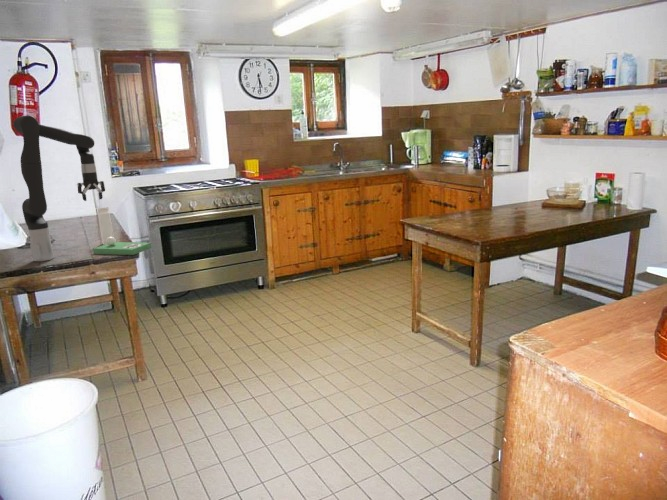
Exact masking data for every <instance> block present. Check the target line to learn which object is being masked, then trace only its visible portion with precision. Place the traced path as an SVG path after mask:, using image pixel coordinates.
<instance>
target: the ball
mask: <svg viewBox="0 0 667 500" xmlns="http://www.w3.org/2000/svg"><path fill="white" fill-rule="evenodd" d="M106 242H107V244H108V245H110V246H112V245H114V244H115V243H116V242H117V239H116V238H115V237H108V238H107V240H106Z"/></svg>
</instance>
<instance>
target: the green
mask: <svg viewBox="0 0 667 500" xmlns="http://www.w3.org/2000/svg"><path fill="white" fill-rule="evenodd" d="M149 249H152V243H151V242H134V241H133V242H131V241H130V242H124V241H122V242H121V241H116V243H115V244H114V245H112V246H110V245H108V244H105V245H104V244H102V245H100V246H97V247H94V248H92V252H93V254H94V255H118V256H119V255H120V256H121V255H122V256H124V255H126V256H127V255H128V256H134V255H137V254H139V253H142V252H145V251H146V250H149Z"/></svg>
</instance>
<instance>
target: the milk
mask: <svg viewBox="0 0 667 500" xmlns="http://www.w3.org/2000/svg"><path fill="white" fill-rule="evenodd" d="M97 219H98V224H99V225H98V226H99V230H100V237H101V242H102V245H105V244H107V242H106V240H107V238H108V237H114V230H113V224H112V217H111V212H110V210H109V207H99V208H97ZM114 238H115V237H114Z"/></svg>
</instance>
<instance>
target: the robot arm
mask: <svg viewBox="0 0 667 500" xmlns="http://www.w3.org/2000/svg"><path fill="white" fill-rule="evenodd" d="M12 124H13V128H14V129H15V131H16V132H18V133H19V134H22V138H23V145H22V146H23V147H22V151H21V155H20V169H21V174H22V177H23V180H24V182H25V184H26V186H27V189H28V197H29V198H27V199H25V200H24V201H23V202H22V203H21V204H22V206H21V208H22V214H23V215H22V216H23V217H24V222H25V224H26V226H27V228H28V234H29V239H30V243H29V249H30V253H31V258H32V261H33V262H46V261H51V260H54V259H55V255H54V250H53V246H52V240H51V239H52V238H51V233H50V228H49V224H48V222H47V221H46V219H45V218H44V215H45V214H46V212H47V211H48V204H47V199H46V195H45V190H44V180H43V166H42V161H41V160H42V159H41V158H42V157H41V148H40V137H42V138H45V139H50V140H53V141H55V142H58V143H63V144H66V145H69V146H70V145H71V146H76V151H77V152H78V155H79V157H80V165H81V166H80V168H81V175H82V182H77V192H78V193H77V194H81V197H82V200H83V202H87V201H88V200H87V194H86V193H87V192H88V191H90V190H91V191H92V190H96V191H97V192H98V194H97V195H98V200H102V199H103V196H104V195H103V193H104V192H105V191H106V187H105V181H103V180H100V181H99V180H98V175H97V174H98V173H97V168H96V163H95V162H96V161H95V157H94V154H93V153H91V152H90V149H92V148H94V146H95V140H94V139H93V138H92V137H91V136H90V135H87V134H80V133H75V132H73V131H69V130H66V129H64V128H58V127H55V126H54V127H53V126H48V125H44V124H41V123H39V121H38V119H37V118H36V117H34V116H33V115H21V116H17V117H15V119H14V120H13V123H12ZM99 185H100V187H99ZM83 186H84V188H83V189H82V187H83Z"/></svg>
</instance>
